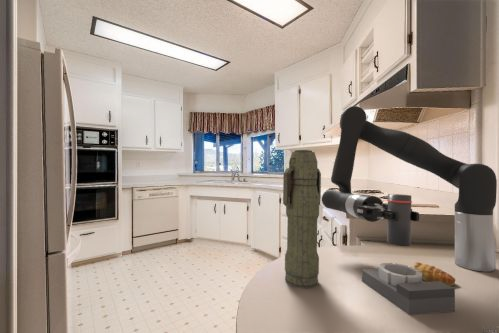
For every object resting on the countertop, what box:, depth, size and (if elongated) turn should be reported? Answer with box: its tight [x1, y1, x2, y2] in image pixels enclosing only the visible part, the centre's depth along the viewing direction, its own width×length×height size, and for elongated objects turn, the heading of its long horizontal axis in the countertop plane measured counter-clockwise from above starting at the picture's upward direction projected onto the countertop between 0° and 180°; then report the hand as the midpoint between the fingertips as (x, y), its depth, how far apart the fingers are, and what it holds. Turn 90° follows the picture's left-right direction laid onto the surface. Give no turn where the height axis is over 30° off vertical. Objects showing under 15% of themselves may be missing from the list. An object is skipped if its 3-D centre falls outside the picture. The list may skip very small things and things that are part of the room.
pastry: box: [412, 261, 456, 287], centre depth 68 cm, size 9×7×4 cm
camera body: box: [361, 262, 456, 315], centre depth 59 cm, size 11×16×6 cm
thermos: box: [282, 149, 322, 289], centre depth 66 cm, size 9×12×35 cm
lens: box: [386, 193, 413, 247], centre depth 61 cm, size 5×5×12 cm
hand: (407, 216), depth 58 cm, fingers closed on lens, 5 cm apart
